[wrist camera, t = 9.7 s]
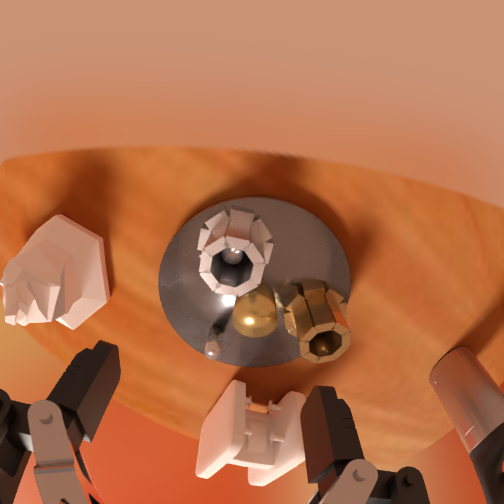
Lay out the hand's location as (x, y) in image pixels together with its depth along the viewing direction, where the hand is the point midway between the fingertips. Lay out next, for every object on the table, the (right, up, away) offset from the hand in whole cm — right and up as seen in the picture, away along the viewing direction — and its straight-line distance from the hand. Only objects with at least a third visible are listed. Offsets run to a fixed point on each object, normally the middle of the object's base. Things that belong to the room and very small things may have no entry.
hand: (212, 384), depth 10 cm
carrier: (+2, +1, +19) cm, 19 cm away
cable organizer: (+1, -18, +27) cm, 32 cm away
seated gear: (+8, -1, +19) cm, 20 cm away
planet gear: (0, +6, +16) cm, 17 cm away
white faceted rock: (-21, +4, +19) cm, 28 cm away
